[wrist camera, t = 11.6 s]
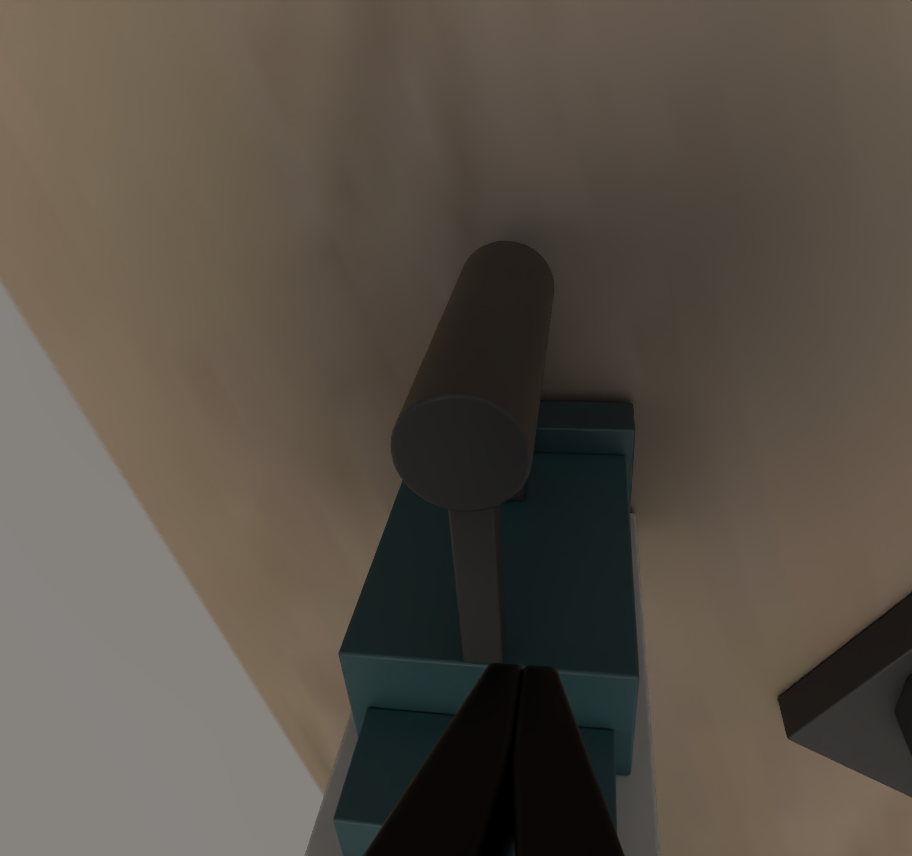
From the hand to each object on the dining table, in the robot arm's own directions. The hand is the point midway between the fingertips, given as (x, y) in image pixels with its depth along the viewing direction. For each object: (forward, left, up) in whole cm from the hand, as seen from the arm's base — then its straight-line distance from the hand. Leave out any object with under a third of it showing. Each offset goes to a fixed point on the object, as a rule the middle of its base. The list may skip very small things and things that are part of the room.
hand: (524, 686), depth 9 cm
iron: (-8, -3, -6) cm, 10 cm away
